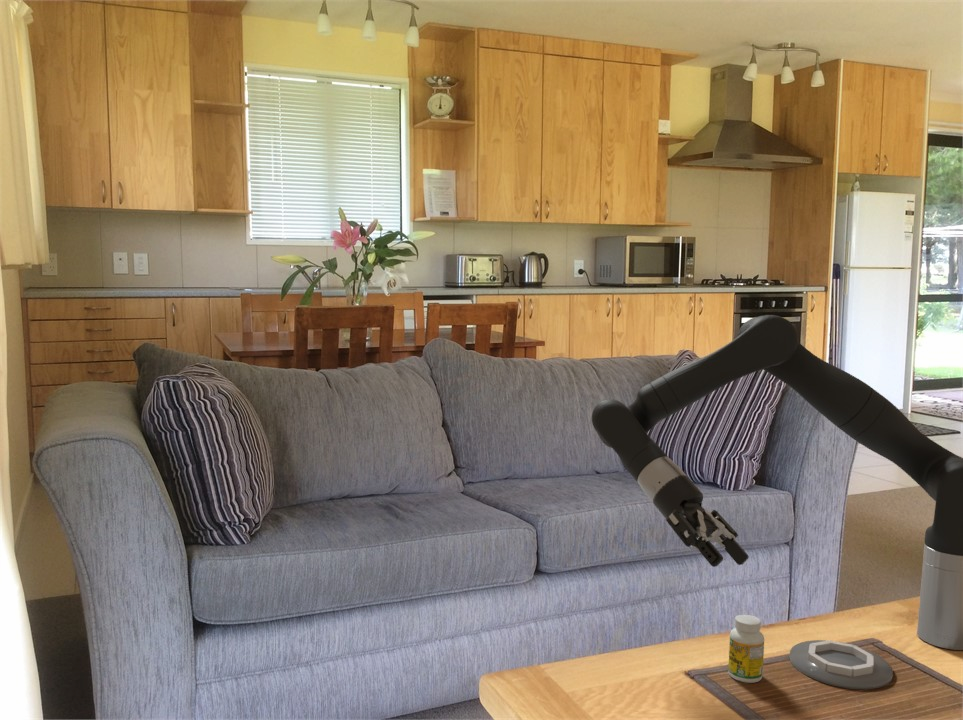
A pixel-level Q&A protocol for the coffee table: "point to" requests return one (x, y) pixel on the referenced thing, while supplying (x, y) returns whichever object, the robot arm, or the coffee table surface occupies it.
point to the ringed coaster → (841, 664)
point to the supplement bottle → (746, 650)
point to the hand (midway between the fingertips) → (732, 562)
